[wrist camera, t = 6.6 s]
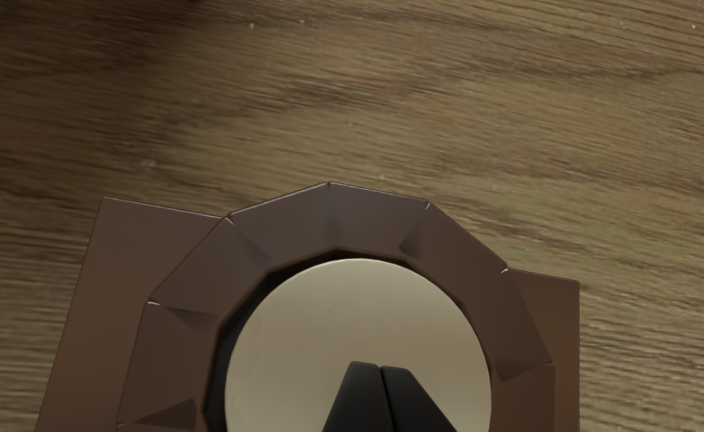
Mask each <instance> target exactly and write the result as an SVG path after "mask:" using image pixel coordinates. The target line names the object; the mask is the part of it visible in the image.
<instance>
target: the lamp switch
mask: <svg viewBox="0 0 704 432" xmlns="http://www.w3.org/2000/svg"><path fill="white" fill-rule="evenodd" d="M352 361H360V362H366V363H373V364H376V365H377V366H379V368H380V367H381V366H383V365H386V366H393V367H400V368H405V369H408V370H409V371H410V372H411V373H412V374H413V375H414V376H415V378H416V379H417V380H418V382H419V383H420V384H421V385H422V387H423V388H424V389H425V391H426V392H427V393H428V394H429V396H430V397H431V398H432V400H433V401H434V402H435V403H436V405H437V406H438V407H439V409H440V410H441V411H442V412H443V414H444V415H445V416H446V417H447V419H448V420H449V421H450V423H451V424H452V425H453V426H454V428H455V429H456V430H457V432H488V431H489V426H490V417H491V387H490V379H489V373H488V369H487V365H486V361H485V357H484V354H483V351H482V349H481V346H480V343H479V341H478V339H477V337H476V335H475V333H474V331H473V329H472V327H471V325H470V324H469V322H468V321H467V319H466V318H465V316H464V315H463V313H462V312H461V311H460V309H459V308H458V307H457V306H456V305H455V304H454V302H453V301H452V300H451V299H450V298H449V297H448V296H447V295H446V294H445V293H444V292H442V291H441V290H440V289H439V288H438V287H437V286H435V285H434V284H432V283H431V282H430V281H428V280H427V279H425V278H424V277H422V276H420V275H418V274H416V273H415V272H413V271H411V270H409V269H406V268H403V267H401V266H398V265H396V264H392V263H388V262H384V261H380V260H372V259H342V260H336V261H330V262H326V263H323V264H319V265H316V266H313V267H311V268H309V269H306V270H304V271H302V272H300V273H298V274H296V275H294V276H293V277H291V278H289V279H288V280H286V281H285V282H283V283H282V284H281V285H279V286H278V287H277V288H276V289H275V290H273V291H272V292H271V293H270V294H269V295H268V296H267V297H266V298H265V299H264V300H263V301H262V302H261V303H260V304H259V305H258V307H257V308H256V309H255V311H254V312H253V313H252V315H251V316H250V317H249V319H248V320H247V322H246V324H245V326H244V327H243V329H242V331H241V333H240V335H239V337H238V339H237V342H236V344H235V347H234V349H233V352H232V355H231V358H230V362H229V366H228V370H227V376H226V384H225V418H226V425H227V432H322V430H323V427H324V425H325V422H326V420H327V417H328V415H329V413H330V410H331V408H332V405H333V403H334V400H335V398H336V395H337V393H338V390H339V388H340V385H341V383H342V381H343V378H344V376H345V373H346V371H347V368H348V366H349V364H350V363H351V362H352Z"/></svg>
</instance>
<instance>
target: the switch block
mask: <svg viewBox="0 0 704 432" xmlns="http://www.w3.org/2000/svg"><path fill="white" fill-rule="evenodd" d="M342 259H372V260H380V261H384V262H388V263H392V264H396V265H398V266H401V267H403V268H406V269H409V270H411V271H413V272H415V273H416V274H418V275H420V276H422V277H424V278H425V279H427V280H428V281H430V282H431V283H432V284H434V285H435V286H437V287H438V288H439V289H440V290H441V291H442V292H444V293H445V294H446V295H447V296H448V297H449V298H450V299H451V300H452V301H453V302H454V304H455V305H456V306H457V307H458V308H459V309H460V311H461V312H462V313H463V315H464V316H465V318H466V319H467V321H468V322H469V324H470V325H471V327H472V329H473V331H474V333H475V335H476V337H477V339H478V341H479V343H480V346H481V349H482V351H483V354H484V357H485V361H486V365H487V369H488V373H489V379H490V387H491V417H490V426H489V431H488V432H579V281H577V280H572V279H566V278H561V277H555V276H550V275H544V274H538V273H533V272H527V271H522V270H516V269H511V268H509V267H507V263H506V262H505V261H504V260H502V259H501V258H500V257H499V256H497V255H496V254H495V253H494V252H492V251H491V250H490V249H489V248H487V247H486V246H485V245H484V244H482V243H481V242H480V241H479V240H477V239H476V238H475V237H474V236H472V235H471V234H470V233H469V232H467V231H466V230H465V229H464V228H462V227H461V226H460V225H459V224H457V223H456V222H455V221H454V220H452V219H451V218H450V217H449V216H447V215H446V214H445V213H444V212H442V211H441V210H440V209H439V208H437V207H436V206H435V205H434V204H432V203H430V202H427V200H425V199H420V198H415V197H410V196H405V195H399V194H394V193H389V192H384V191H379V190H374V189H369V188H363V187H358V186H353V185H348V184H343V183H338V182H332V181H330V182H328V183H327V182H322V183H319V184H316V185H313V186H310V187H307V188H304V189H301V190H298V191H294V192H291V193H288V194H285V195H282V196H279V197H276V198H273V199H270V200H266V201H263V202H260V203H257V204H254V205H251V206H248V207H245V208H241V209H238V210H235V211H232V212H230V213H229V214H227V216H225V217H222V216H216V215H211V214H205V213H200V212H194V211H189V210H183V209H177V208H172V207H166V206H161V205H155V204H150V203H144V202H139V201H133V200H127V199H122V198H116V197H111V196H102V198H101V200H100V203H99V207H98V210H97V214H96V217H95V221H94V224H93V228H92V231H91V235H90V238H89V242H88V245H87V249H86V252H85V256H84V259H83V263H82V266H81V270H80V273H79V276H78V280H77V283H76V287H75V290H74V294H73V297H72V301H71V304H70V308H69V311H68V315H67V318H66V322H65V325H64V329H63V332H62V336H61V339H60V343H59V346H58V350H57V353H56V357H55V360H54V363H53V367H52V370H51V374H50V377H49V381H48V384H47V388H46V391H45V395H44V398H43V402H42V405H41V409H40V412H39V416H38V419H37V423H36V426H35V430H34V432H227V425H226V418H225V384H226V376H227V370H228V366H229V362H230V358H231V355H232V352H233V349H234V347H235V344H236V342H237V339H238V337H239V335H240V333H241V331H242V329H243V327H244V326H245V324H246V322H247V320H248V319H249V317H250V316H251V315H252V313H253V312H254V311H255V309H256V308H257V307H258V305H259V304H260V303H261V302H262V301H263V300H264V299H265V298H266V297H267V296H268V295H269V294H270V293H271V292H272V291H273V290H275V289H276V288H277V287H278V286H279V285H281V284H282V283H283V282H285V281H286V280H288V279H289V278H291V277H293V276H294V275H296V274H298V273H300V272H302V271H304V270H306V269H309V268H311V267H313V266H316V265H319V264H323V263H326V262H330V261H336V260H342Z"/></svg>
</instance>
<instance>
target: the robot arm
mask: <svg viewBox="0 0 704 432" xmlns="http://www.w3.org/2000/svg"><path fill="white" fill-rule="evenodd" d="M322 432H457V430H456V429H455V428H454V426H453V425H452V424H451V423H450V421H449V420H448V419H447V417H446V416H445V415H444V414H443V412H442V411H441V410H440V409H439V407H438V406H437V405H436V403H435V402H434V401H433V400H432V398H431V397H430V396H429V394H428V393H427V392H426V391H425V389H424V388H423V387H422V385H421V384H420V383H419V382H418V380H417V379H416V378H415V376H414V375H413V374H412V373H411V372H410V371H409V370H408V369H405V368H400V367H393V366H386V365H383V366H381V367H380V368H379V366H377V365H376V364H373V363H366V362H360V361H352V362H351V363H350V364H349V366H348V368H347V371H346V373H345V376H344V378H343V381H342V383H341V385H340V388H339V390H338V393H337V395H336V398H335V400H334V403H333V405H332V408H331V410H330V413H329V415H328V417H327V420H326V422H325V425H324V427H323V430H322Z"/></svg>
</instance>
